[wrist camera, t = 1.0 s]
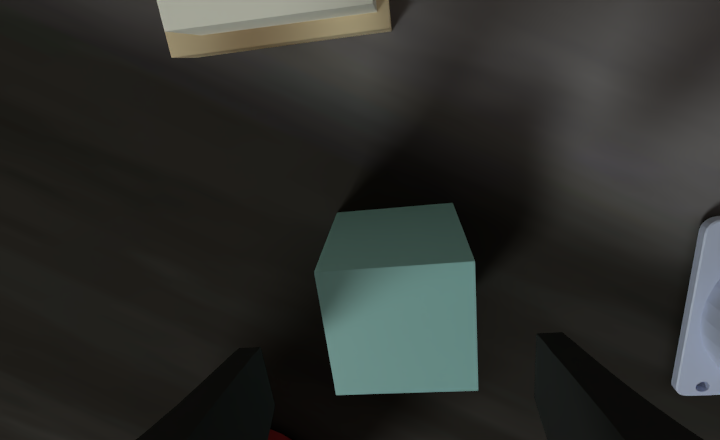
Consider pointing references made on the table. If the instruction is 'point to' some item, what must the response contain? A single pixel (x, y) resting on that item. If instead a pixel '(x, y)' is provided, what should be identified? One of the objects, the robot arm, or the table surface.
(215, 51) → the oak slab
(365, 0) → the cream slab
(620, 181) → the table surface
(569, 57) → the table surface
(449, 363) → the teal block
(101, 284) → the table surface
